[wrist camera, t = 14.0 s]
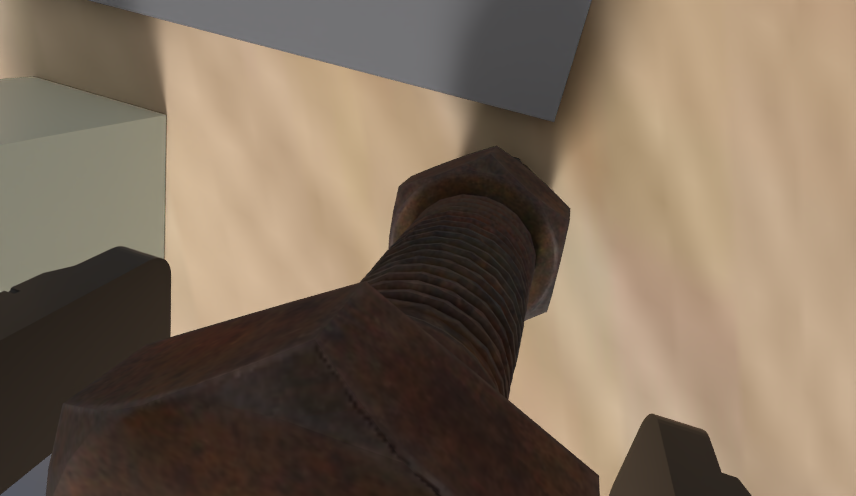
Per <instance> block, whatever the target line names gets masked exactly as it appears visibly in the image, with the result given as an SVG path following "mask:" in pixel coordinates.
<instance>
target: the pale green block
mask: <svg viewBox="0 0 856 496" xmlns="http://www.w3.org/2000/svg"><path fill="white" fill-rule="evenodd" d="M165 162H166V115H165V114H162V113H158V112H155V111H151V110H148V109H144V108H141V107H137V106H134V105H131V104H127V103H124V102H120V101H117V100H113V99H110V98H106V97H103V96H99V95H96V94H93V93H89V92H86V91H82V90H79V89H75V88H72V87H68V86H65V85H61V84H58V83H54V82H51V81H48V80H44V79H41V78H37V77H21V78H6V79H0V292H2V291H7V292H9V291H10V289H11V287H13V286H16V285H18V284H20V283H22V282H24V281H27V280H29V279H31V278H33V277H35V276H38V275H40V274H42V273H45V272H50V271H54V270H58V269H62V268H67V267H71V266H75V265H77V264H79V263H81V262H84V261H86V260H88V259H90V258H92V257H94V256H96V255H99V254H101V253H103V252H105V251H107V250H109V249H111V248H114V247H117V246H124V247H128V248H131V249H134V250H137V251H140V252H143V253H147V254H150V255H153V256H156V257H159V258H162V259H164V226H165Z"/></svg>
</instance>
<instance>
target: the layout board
mask: <svg viewBox="0 0 856 496" xmlns="http://www.w3.org/2000/svg"><path fill="white" fill-rule="evenodd" d="M89 1H93V2H97V3H101V4H105V5H108V6H112V7H116V8H120V9H124V10H127V11H131V12H135V13H139V14H143V15H147V16H150V17H154V18H158V19H162V20H166V21H170V22H173V23H177V24H181V25H185V26H189V27H192V28H196V29H200V30H204V31H208V32H212V33H215V34H219V35H223V36H227V37H231V38H235V39H238V40H242V41H246V42H250V43H254V44H258V45H261V46H265V47H269V48H273V49H277V50H280V51H284V52H288V53H292V54H296V55H300V56H303V57H307V58H311V59H315V60H319V61H323V62H326V63H330V64H334V65H338V66H342V67H345V68H349V69H353V70H357V71H361V72H365V73H368V74H372V75H376V76H380V77H384V78H388V79H391V80H395V81H399V82H403V83H407V84H410V85H414V86H418V87H422V88H426V89H430V90H433V91H437V92H441V93H445V94H449V95H453V96H456V97H460V98H464V99H468V100H472V101H476V102H479V103H483V104H487V105H491V106H495V107H498V108H502V109H506V110H510V111H514V112H518V113H521V114H525V115H529V116H533V117H537V118H541V119H544V120H548V121H552V122H554V121H555V117H556V114H557V111H558V108H559V105H560V101H561V98H562V95H563V92H564V88H565V85H566V82H567V79H568V75H569V72H570V69H571V66H572V62H573V59H574V56H575V53H576V49H577V46H578V43H579V40H580V36H581V33H582V30H583V27H584V24H585V20H586V17H587V14H588V11H589V7H590V4H591V1H592V0H89Z"/></svg>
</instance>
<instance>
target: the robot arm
mask: <svg viewBox="0 0 856 496" xmlns="http://www.w3.org/2000/svg"><path fill="white" fill-rule="evenodd" d="M170 331H171V270H170V266H169V264H168V262H167V261H166V260H164V259H162V258H159V257H156V256H153V255H150V254H147V253H143V252H140V251H137V250H134V249H131V248H128V247H124V246H117V247H114V248H111V249H109V250H107V251H105V252H103V253H101V254H99V255H96V256H94V257H92V258H90V259H88V260H86V261H84V262H81V263H79V264H77V265H75V266H71V267H67V268H62V269H58V270H54V271H50V272H45V273H42V274H40V275H38V276H35V277H33V278H31V279H29V280H27V281H24V282H22V283H20V284H18V285H16V286H13V287H11V289H10V291H9V292H7V291H2V292H0V495H1V494H2V493H3V492H4V491H6V490H7V489H8V488H9V487H10V486H12V485H13V484H14V483H15V482H17V481H18V480H19V479H20V478H22V477H23V476H24V475H25V474H27V473H28V472H29V471H30V470H31V469H32V468H34V467H35V466H36V465H38V464H39V463H40V462H41V461H42V460H44V459H45V458H46V457H48V456H49V455H50V454H51V453H52V450H53V446H54V441H55V437H56V432H57V428H58V423H59V419H60V414H61V410H62V405H63V403H64V402H66V401H67V400H68V399H70V398H71V397H73V396H74V395H75V394H77V393H78V392H80V391H81V390H82V389H84V388H85V387H87V386H88V385H89V384H91V383H92V382H94V381H95V380H96V379H98V378H99V377H101V376H102V375H103V374H105V373H106V372H108V371H109V370H110V369H112V368H113V367H115V366H116V365H117V364H119V363H120V362H122V361H123V360H125V359H126V358H127V357H129V356H130V355H132V354H133V353H134V352H136V351H137V350H139V349H140V348H141V347H143V346H144V345H146V344H149V343H152V342H156V341H159V340H163V339H166V338H170ZM609 496H751V494H750V493H749V492H748V490H747V489H746V488H745V487H744V485H743V484H742V483H741V482H740V480H739V479H738V478H736V477H733V476H730V475H727V474H724V473H722V472H721V469H720V467H719V464H718V461H717V458H716V455H715V452H714V449H713V447H712V444H711V441H710V438H709V436H708V434H707V432H706V431H704V430H703V429H700V428H696V427H693V426H690V425H687V424H684V423H680V422H677V421H674V420H671V419H668V418H665V417H661V416H658V415H655V414H649V415H648V416H647V417H646V418H645V419H644V421H643V422H642V424H641V426H640V428H639V430H638V433H637V435H636V437H635V439H634V441H633V443H632V445H631V448H630V450H629V452H628V454H627V456H626V458H625V460H624V462H623V465H622V467H621V469H620V471H619V473H618V475H617V477H616V480H615V482H614V484H613V486H612V489H611V491H610V494H609Z"/></svg>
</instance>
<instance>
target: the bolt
mask: <svg viewBox="0 0 856 496" xmlns="http://www.w3.org/2000/svg"><path fill="white" fill-rule="evenodd" d="M569 221H570V208H569V207H568V206H567V205H566V204H565V203H564V202H563V201H562V200H561V199H560V198H559V197H558V196H557V195H556V194H555V193H554V192H553V191H552V190H551V189H550V188H549V187H548V186H547V185H546V184H545V183H544V182H543V181H541V180H540V179H539V178H538V177H537V176H536V175H535V174H534V173H533V172H532V171H531V170H530V169H529V168H528V167H527V166H526V165H524V164H523V163H522V162H521V161H520V159H519V158H515V157H512V156H511V155H510V154H508V153H506V152H505V151H503V150H502V149H501V148H499V147H498V146H495V147H491V148H488V149H484V150H481V151H478V152H474V153H471V154H469V155H466V156H463V157H460V158H457V159H454V160H451V161H449V162H446V163H443V164H441V165H438V166H435V167H433V168H430V169H428V170H425V171H423V172H420V173H418V174H416V175H413V176H411V177H410V178H408V179H407V180H406V181H405V182H404V183H402V184H401V185H400V186H399V188H398V192H397V197H396V201H395V206H394V210H393V217H392V223H391V229H390V235H389V250H387V251H386V252H385V254H384V255H383V256H382V257H381V258H380V260H379V261H378V262H377V263H376V264H375V266H374V267H373V268H372V270H371V271H370V272H369V273H368V274H367V275H366V276H365V278H363V279H362V280H361V282H360V283H357V284H353V285H350V286H346V287H343V288H339V289H336V290H332V291H329V292H325V293H321V294H318V295H314V296H311V297H307V298H304V299H300V300H297V301H293V302H290V303H286V304H283V305H279V306H276V307H272V308H269V309H265V310H262V311H259V312H255V313H252V314H248V315H245V316H241V317H238V318H235V319H231V320H228V321H224V322H221V323H218V324H214V325H211V326H207V327H204V328H200V329H197V330H194V331H190V332H187V333H183V334H180V335H176V336H173V337H170V338H166V339H163V340H159V341H156V342H152V343H149V344H146V345H144V346H143V347H141V348H140V349H139V350H137V351H136V352H134V353H133V354H132V355H130V356H129V357H127V358H126V359H125V360H123V361H122V362H120V363H119V364H117V365H116V366H115V367H113V368H112V369H110V370H109V371H108V372H106V373H105V374H103V375H102V376H101V377H99V378H98V379H96V380H95V381H94V382H92V383H91V384H89V385H88V386H87V387H85V388H84V389H82V390H81V391H80V392H78V393H77V394H75V395H74V396H73V397H71V398H70V399H68V400H67V401H66V402H64V403H63V405H62V410H61V414H60V419H59V423H58V428H57V432H56V437H55V441H54V446H53V450H52V455H51V459H50V464H49V469H48V478H47V489H46V496H600V492H599V475H598V474H596V473H595V472H594V471H593V470H592V469H590V468H589V467H588V466H587V465H586V464H584V463H583V462H582V461H581V460H580V459H578V458H577V457H576V456H575V455H574V454H572V453H571V452H570V451H569V450H568V449H566V448H565V447H564V446H563V445H562V444H560V443H559V442H558V441H557V440H556V439H554V438H553V437H552V436H551V435H550V434H548V433H547V432H546V431H545V430H544V429H542V428H541V427H540V426H539V425H538V424H536V423H535V422H534V421H533V420H532V419H530V418H529V417H528V416H527V415H526V414H524V413H523V412H522V411H521V410H520V409H518V408H517V407H516V406H515V405H514V404H512V403H511V402H510V401H509V400H508V398H509V393H510V386H511V383H512V378H513V373H514V369H515V367H516V362H517V358H518V352H519V348H520V342H521V338H522V332H523V327H524V321H525V320H528V319H530V318H532V317H535V316H537V315H540V314H542V313H545V312H547V310H548V306H549V303H550V300H551V296H552V293H553V289H554V285H555V281H556V277H557V273H558V269H559V265H560V261H561V257H562V253H563V249H564V244H565V240H566V235H567V231H568V226H569Z"/></svg>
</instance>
